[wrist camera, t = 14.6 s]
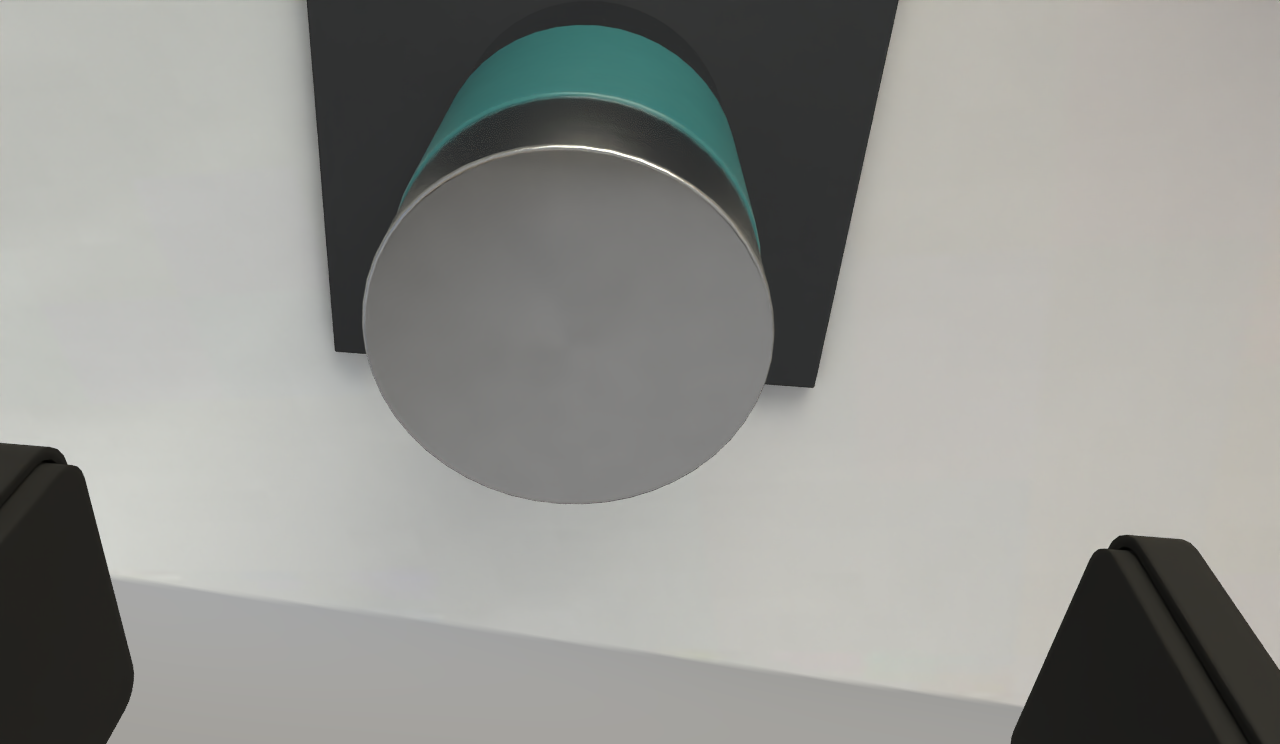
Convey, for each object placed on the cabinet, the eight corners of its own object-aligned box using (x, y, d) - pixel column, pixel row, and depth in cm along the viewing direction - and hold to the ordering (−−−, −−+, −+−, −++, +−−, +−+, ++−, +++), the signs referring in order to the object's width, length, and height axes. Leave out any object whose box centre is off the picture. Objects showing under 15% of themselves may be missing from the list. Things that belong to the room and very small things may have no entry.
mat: (295, -211, 18) (289, -210, 18) (925, -144, 19) (930, -143, 19) (338, 344, 25) (334, 352, 24) (812, 380, 25) (814, 388, 25)
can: (455, -17, 20) (343, 120, 12) (745, 12, 20) (813, 163, 13) (457, 251, 23) (368, 495, 15) (709, 271, 23) (745, 520, 16)
